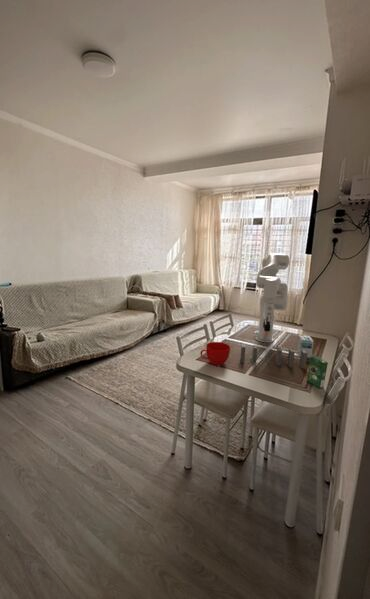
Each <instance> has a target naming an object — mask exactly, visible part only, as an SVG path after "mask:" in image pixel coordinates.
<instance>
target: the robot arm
mask: <svg viewBox="0 0 370 599" xmlns="http://www.w3.org/2000/svg"><path fill="white" fill-rule="evenodd" d="M289 264H290V257H289V255H288V254H286V253H269V254H268V255H267V256H266V257H263V259H262V261H261V269H260V270H259V271H257V275H256V280H255V281H256V285H255V286H256V287H257V288H258V289H263V290H262V291H263V295H262V296H261V297H260V298H259V309H260V310H259V319H258V320H259V321H258V330H255V331H254V332H253V333H254V335H256V336H255V337H254V338H255V340H256V341H259V342H261V343H273V342H274V341H275V338H274V337H273V332H274V331H273V330H274V320H275V311H285V310H286V309H287V306H288V291H289V288H288V285H287V283H285V282H282V280H281V278H279V277H278V276H277V274H278V273H279V271H285V270H287V269H288V267H289ZM265 320H266V321H265ZM267 320H268V321H267ZM264 325H265V327H264ZM264 331H269V332H268V336H267V335H264Z"/></svg>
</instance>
